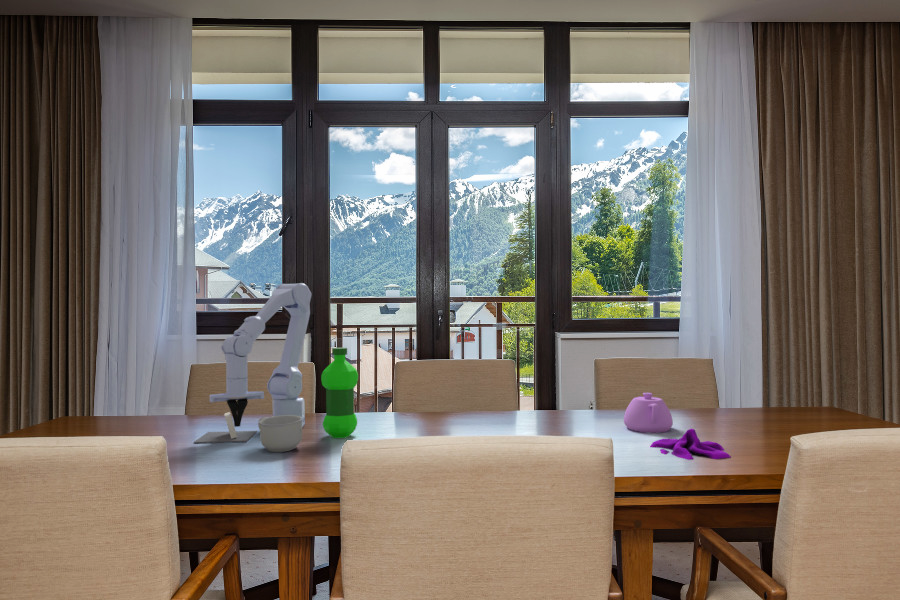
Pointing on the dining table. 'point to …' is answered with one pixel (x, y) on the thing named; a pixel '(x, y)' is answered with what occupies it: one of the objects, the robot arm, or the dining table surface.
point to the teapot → (648, 414)
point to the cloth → (690, 447)
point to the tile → (230, 425)
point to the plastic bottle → (339, 395)
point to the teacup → (280, 432)
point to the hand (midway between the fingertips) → (237, 426)
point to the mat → (225, 437)
